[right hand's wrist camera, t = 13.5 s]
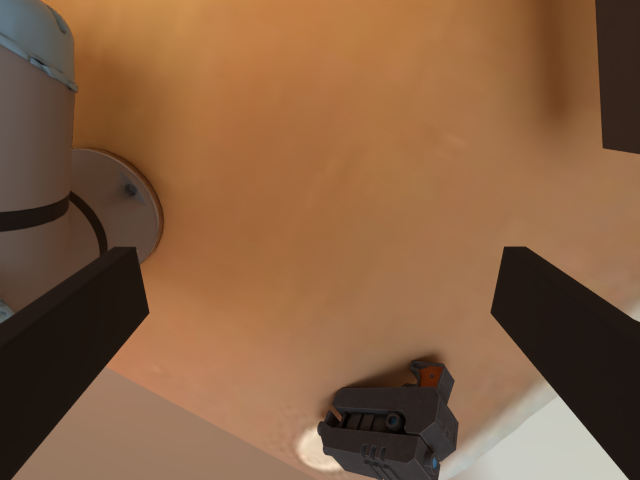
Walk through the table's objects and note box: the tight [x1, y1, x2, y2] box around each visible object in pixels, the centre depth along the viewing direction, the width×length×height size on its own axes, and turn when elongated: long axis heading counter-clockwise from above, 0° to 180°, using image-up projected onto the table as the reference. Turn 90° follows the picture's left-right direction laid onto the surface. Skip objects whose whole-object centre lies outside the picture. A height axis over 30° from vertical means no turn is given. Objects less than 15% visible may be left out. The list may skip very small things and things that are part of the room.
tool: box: [317, 361, 458, 480], centre depth 47 cm, size 6×19×15 cm, turn 123°
